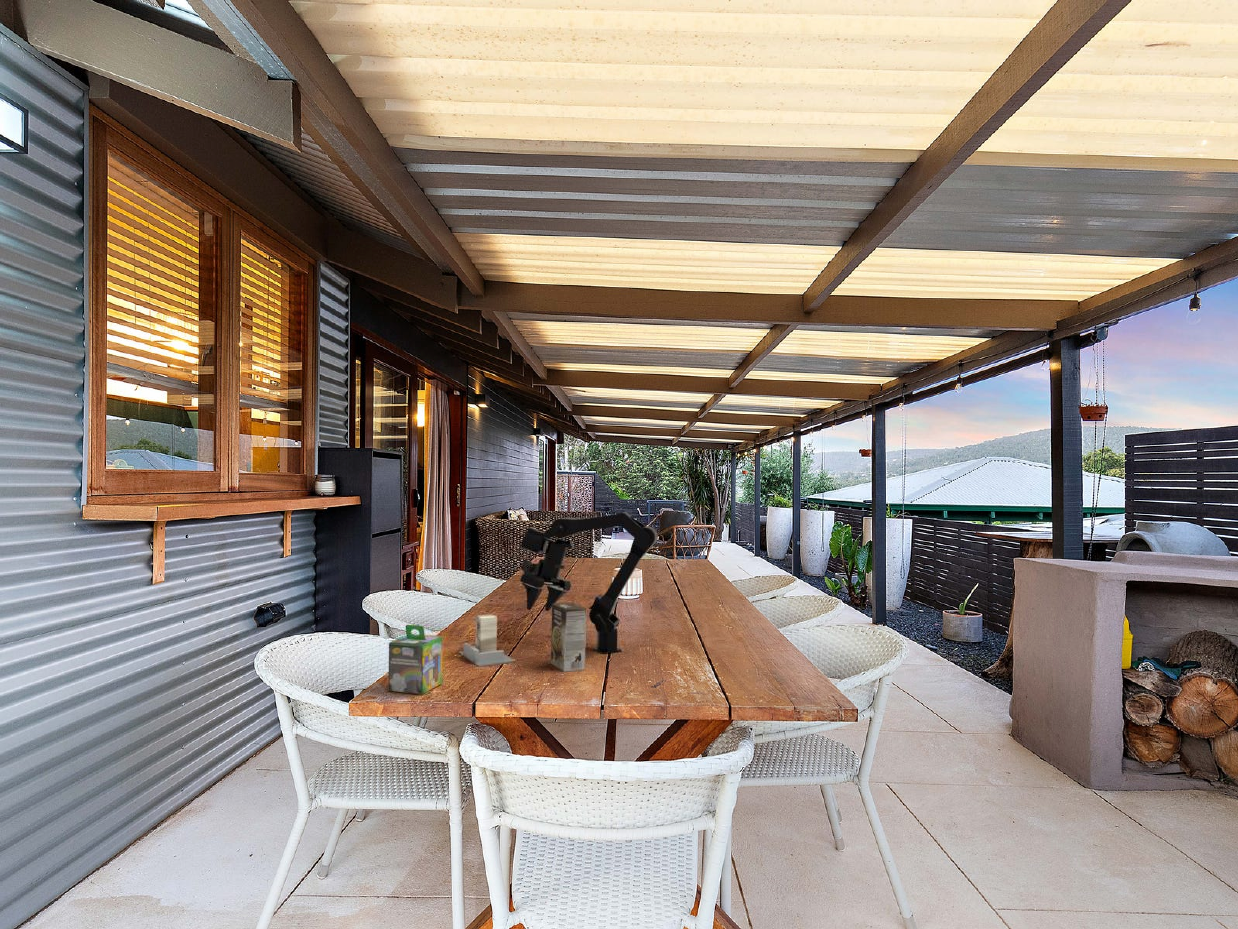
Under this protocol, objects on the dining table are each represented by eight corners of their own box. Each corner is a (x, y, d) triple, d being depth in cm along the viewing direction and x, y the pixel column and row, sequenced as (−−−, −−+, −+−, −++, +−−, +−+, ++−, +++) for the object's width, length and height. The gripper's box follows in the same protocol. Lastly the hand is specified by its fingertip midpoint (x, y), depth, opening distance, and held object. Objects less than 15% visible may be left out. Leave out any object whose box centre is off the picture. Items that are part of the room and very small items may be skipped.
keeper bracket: (515, 662, 182) (515, 649, 183) (479, 667, 177) (479, 653, 177) (493, 649, 196) (494, 637, 196) (459, 653, 191) (459, 641, 191)
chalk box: (443, 684, 161) (444, 622, 162) (421, 696, 152) (423, 629, 153) (409, 680, 164) (410, 619, 164) (386, 691, 155) (388, 626, 155)
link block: (496, 657, 186) (497, 617, 186) (479, 659, 183) (480, 618, 184) (490, 653, 190) (491, 614, 190) (474, 655, 187) (475, 615, 188)
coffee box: (549, 663, 182) (551, 603, 182) (571, 661, 185) (572, 601, 185) (563, 672, 174) (564, 609, 174) (586, 669, 177) (587, 607, 177)
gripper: (550, 554, 213) (535, 603, 211) (514, 548, 197) (497, 600, 195) (578, 565, 207) (563, 614, 206) (543, 558, 191) (527, 612, 190)
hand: (537, 610), depth 199 cm, fingers open, 9 cm apart
